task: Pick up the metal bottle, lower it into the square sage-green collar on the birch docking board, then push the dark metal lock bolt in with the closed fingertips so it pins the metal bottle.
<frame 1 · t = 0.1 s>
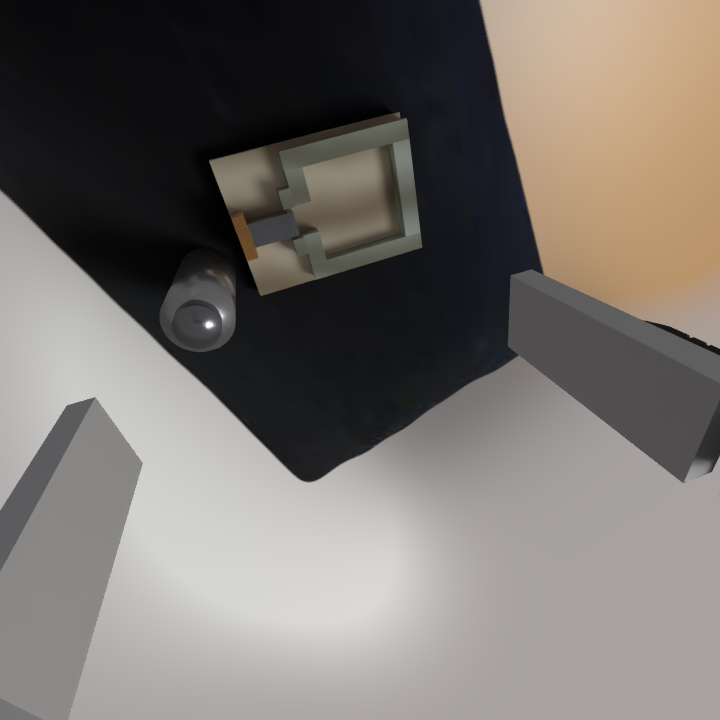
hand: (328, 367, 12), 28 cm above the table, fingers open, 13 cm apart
dock mount: (319, 208, 36), on the table
lock bolt: (267, 229, 33), point 3 cm above the table, slide at 0.0 cm
metal bottle: (208, 274, 36), on the table
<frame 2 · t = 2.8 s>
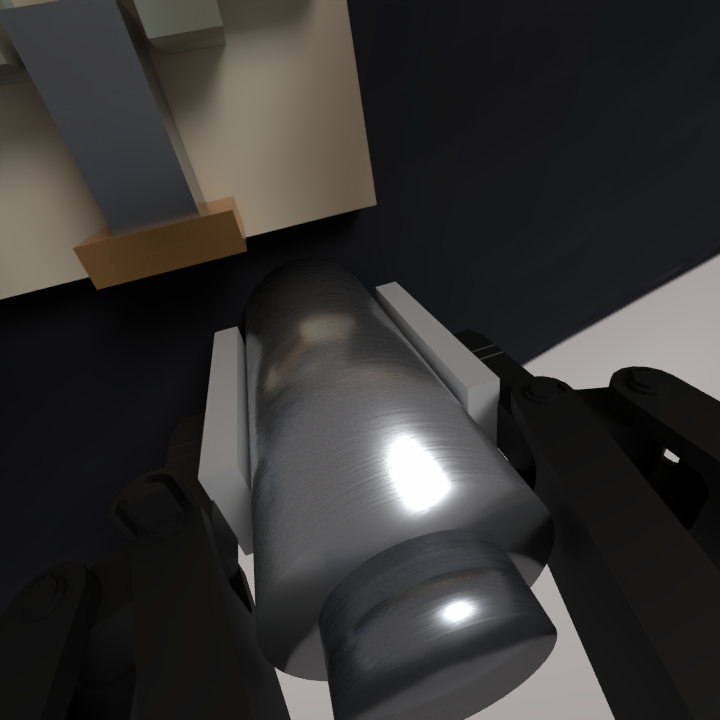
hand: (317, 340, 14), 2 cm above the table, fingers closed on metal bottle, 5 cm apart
lock bolt: (133, 153, 9), point 3 cm above the table, slide at 0.0 cm
metal bottle: (310, 320, 15), on the table, touching gripper
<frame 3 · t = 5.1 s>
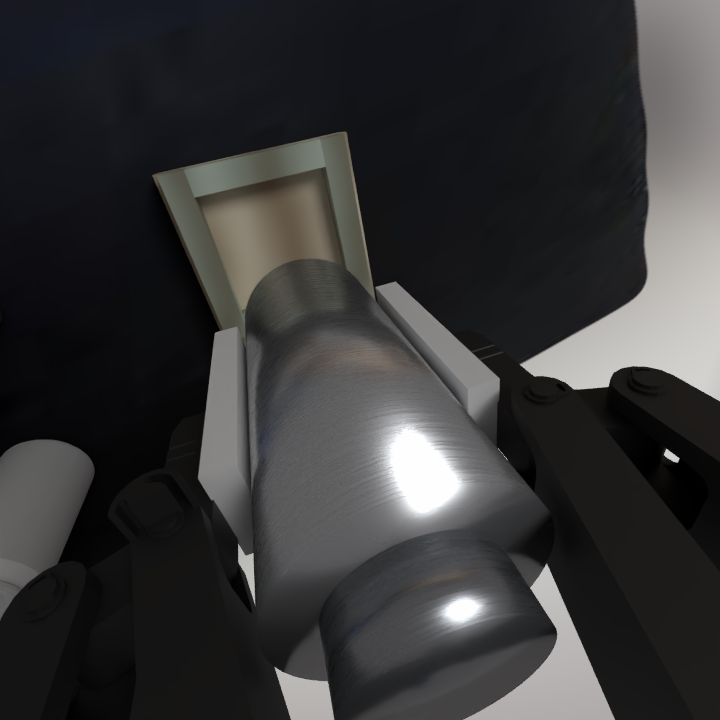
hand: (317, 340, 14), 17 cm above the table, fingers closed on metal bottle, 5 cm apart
dock mount: (288, 276, 29), on the table
beverage can: (53, 461, 32), on the table
metal bottle: (310, 320, 15), point 15 cm above the table, touching gripper
when the fingers open (4 cm above the table, at t = 7.7 s): metal bottle stays where it is, resting on dock mount.
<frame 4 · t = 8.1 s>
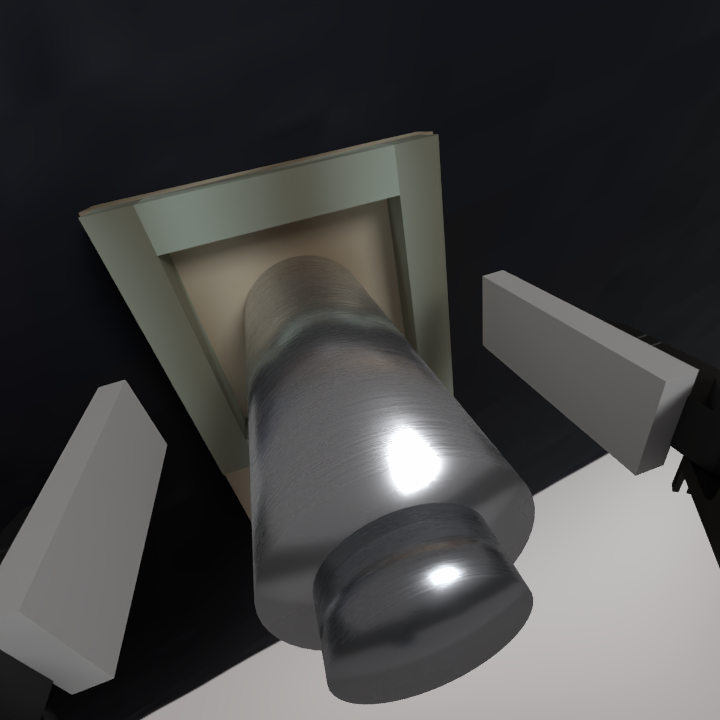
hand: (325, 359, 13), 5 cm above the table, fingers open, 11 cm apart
dock mount: (318, 358, 19), on the table
metal bottle: (307, 316, 16), point 1 cm above the table, touching dock mount
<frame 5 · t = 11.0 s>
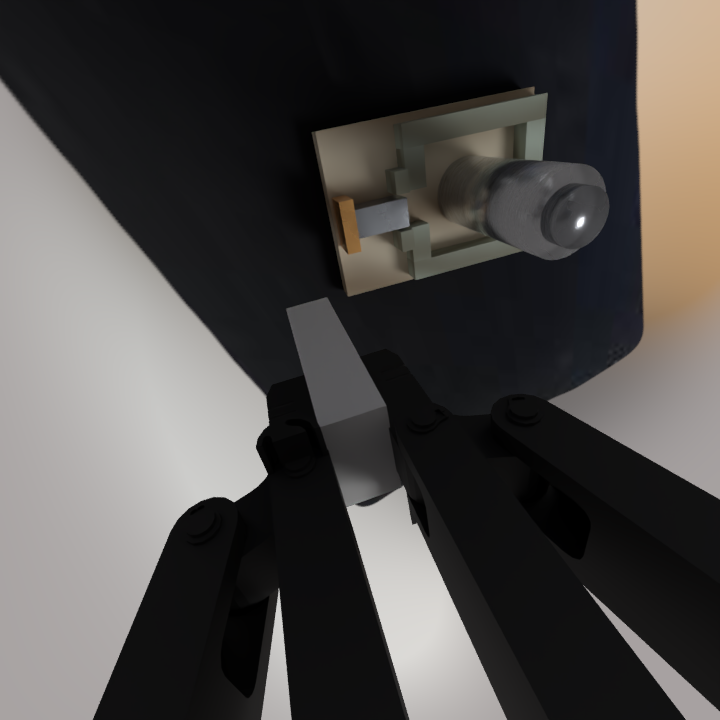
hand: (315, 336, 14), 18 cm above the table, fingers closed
dock mount: (424, 197, 31), on the table
lock bolt: (372, 218, 28), point 3 cm above the table, slide at 0.0 cm
metal bottle: (466, 191, 30), point 1 cm above the table, touching dock mount
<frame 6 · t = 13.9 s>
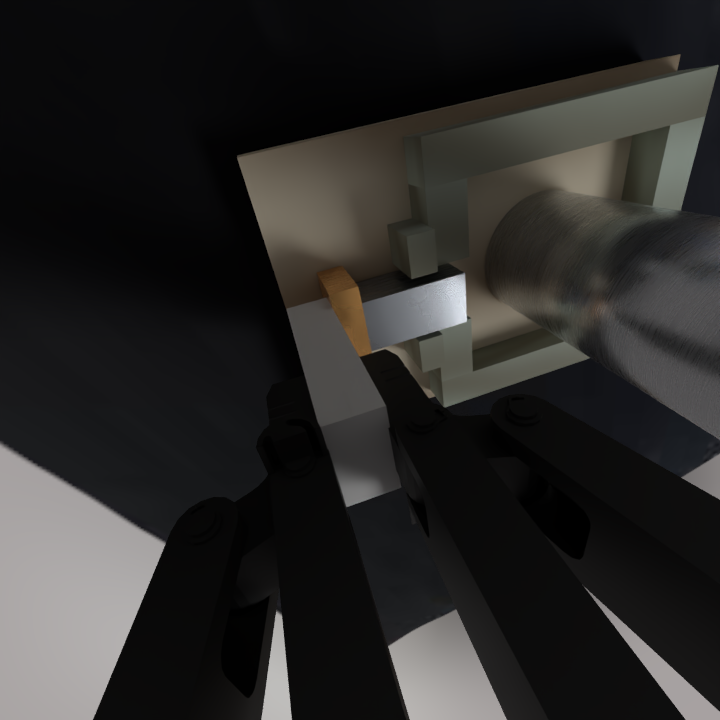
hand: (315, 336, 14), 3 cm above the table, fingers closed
dock mount: (457, 261, 17), on the table
lock bolt: (396, 308, 15), point 3 cm above the table, slide at 1.3 cm, touching gripper
metal bottle: (536, 252, 17), point 1 cm above the table, touching dock mount
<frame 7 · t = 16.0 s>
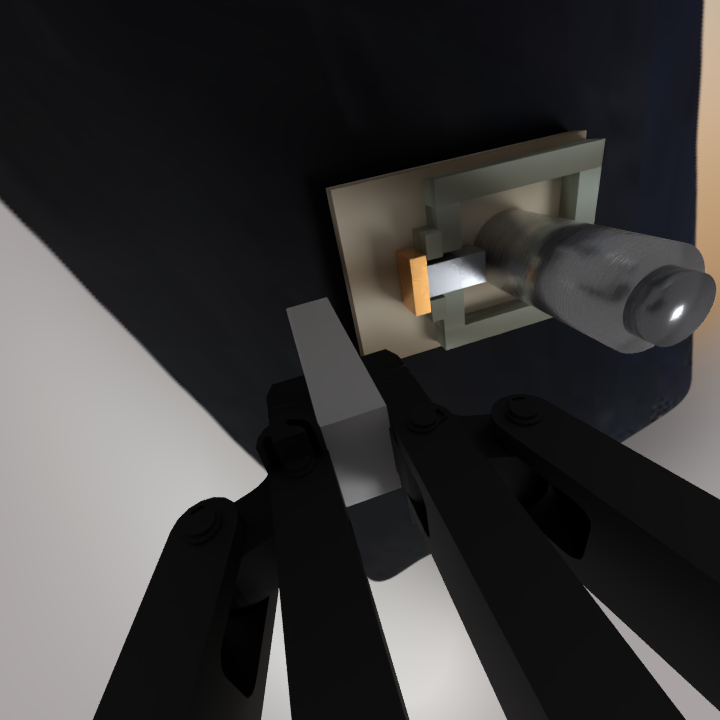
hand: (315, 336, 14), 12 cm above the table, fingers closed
dock mount: (454, 254, 27), on the table
lock bolt: (442, 273, 24), point 3 cm above the table, slide at 3.0 cm
metal bottle: (505, 248, 26), point 1 cm above the table, touching dock mount
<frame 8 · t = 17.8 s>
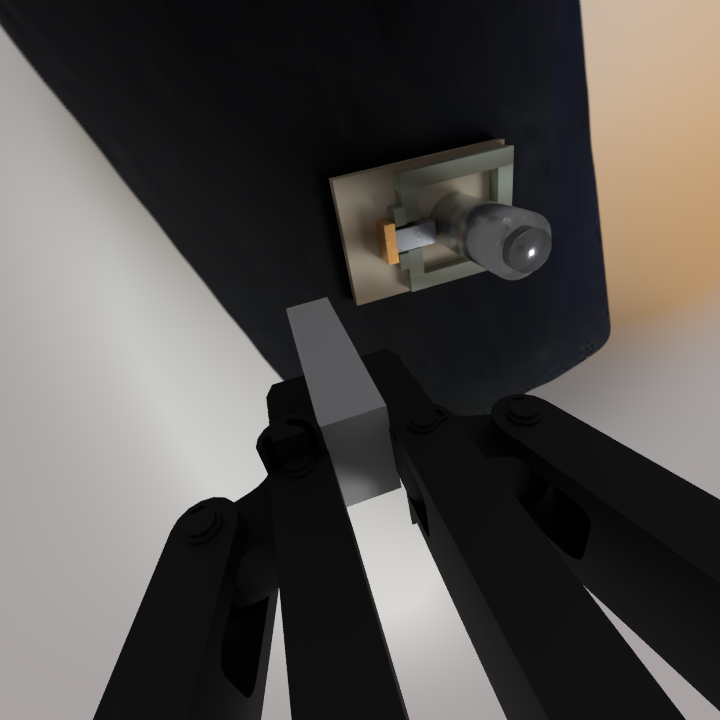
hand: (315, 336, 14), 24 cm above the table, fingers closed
dock mount: (418, 224, 38), on the table
lock bolt: (407, 236, 36), point 3 cm above the table, slide at 3.0 cm
metal bottle: (452, 220, 38), point 1 cm above the table, touching dock mount
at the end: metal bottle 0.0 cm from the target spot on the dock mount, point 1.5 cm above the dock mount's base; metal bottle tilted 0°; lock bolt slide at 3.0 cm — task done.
